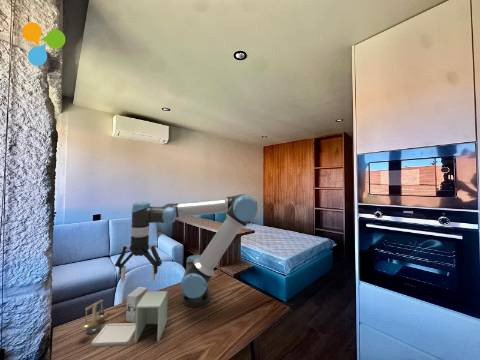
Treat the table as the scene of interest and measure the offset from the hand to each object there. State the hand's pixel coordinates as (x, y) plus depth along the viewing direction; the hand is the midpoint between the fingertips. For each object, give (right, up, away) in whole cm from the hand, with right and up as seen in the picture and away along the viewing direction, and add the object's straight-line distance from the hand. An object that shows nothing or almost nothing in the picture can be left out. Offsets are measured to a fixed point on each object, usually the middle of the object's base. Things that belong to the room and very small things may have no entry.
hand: (138, 280), depth 95 cm
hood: (+10, -17, -9) cm, 22 cm away
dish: (-3, -17, -12) cm, 21 cm away
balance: (-14, -17, -9) cm, 24 cm away
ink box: (-1, -17, +1) cm, 17 cm away
